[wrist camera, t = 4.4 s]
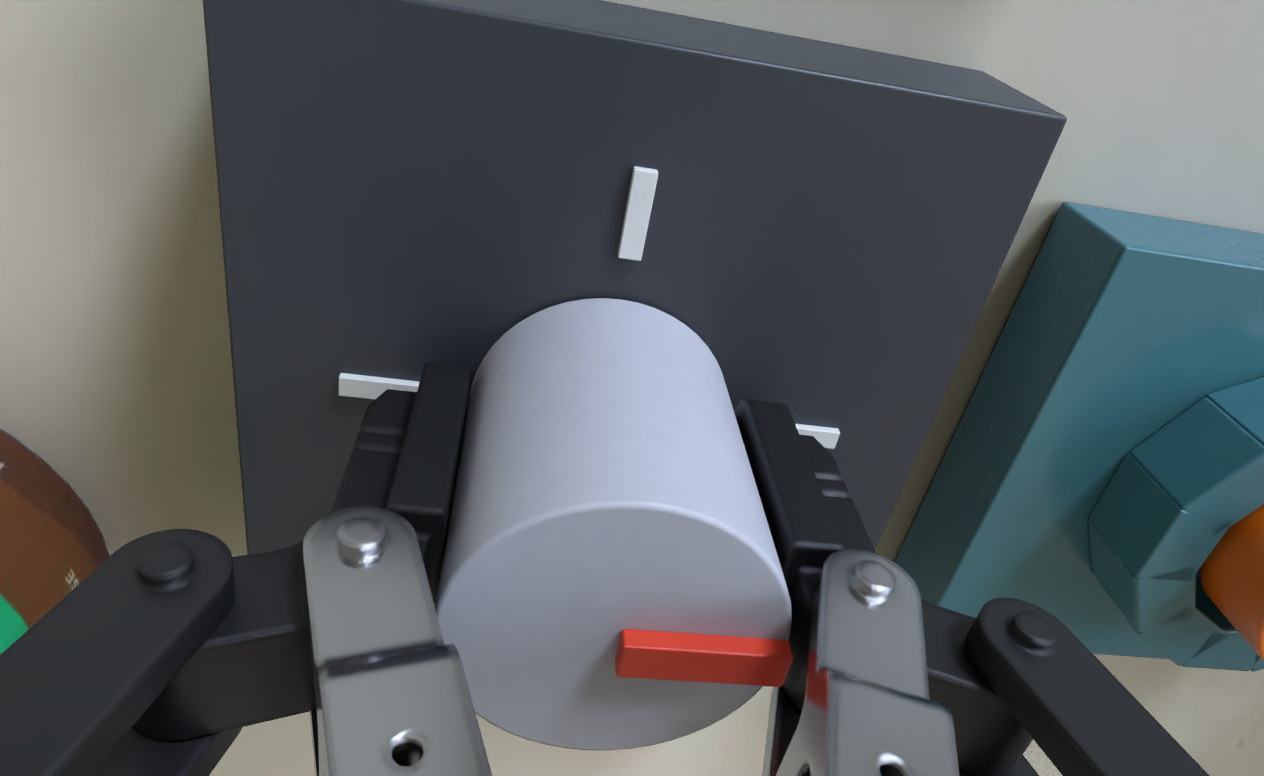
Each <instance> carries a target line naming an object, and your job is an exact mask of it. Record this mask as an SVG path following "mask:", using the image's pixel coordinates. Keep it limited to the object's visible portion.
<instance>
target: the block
mask: <svg viewBox="0 0 1264 776" xmlns="http://www.w3.org/2000/svg"><path fill="white" fill-rule="evenodd" d="M1262 505H1264V234H1260V233H1254V232H1248V231H1242V230H1236V229H1229V228H1223V227H1217V226H1211V225H1205V224H1199V223H1193V222H1186V221H1180V220H1174V219H1168V218H1162V217H1156V216H1150V215H1143V214H1137V213H1131V212H1125V211H1119V210H1113V209H1107V208H1100V207H1094V206H1088V205H1082V204H1076V203H1070V202H1064V203H1063V204H1062V205H1061V207H1060V209H1059V212H1058V214H1057V216H1056V218H1055V220H1054V222H1053V224H1052V227H1051V229H1050V231H1049V233H1048V235H1047V237H1046V239H1045V241H1044V244H1043V246H1042V248H1041V250H1040V252H1039V254H1038V256H1037V259H1036V261H1035V263H1034V265H1033V267H1032V269H1031V271H1030V274H1029V276H1028V278H1027V280H1026V282H1025V284H1024V286H1023V289H1022V291H1021V293H1020V295H1019V297H1018V299H1017V301H1016V303H1015V306H1014V308H1013V310H1012V312H1011V314H1010V316H1009V318H1008V321H1007V323H1006V325H1005V327H1004V329H1003V331H1002V333H1001V336H1000V338H999V340H998V342H997V344H996V346H995V348H994V351H993V353H992V355H991V357H990V359H989V361H988V363H987V365H986V368H985V370H984V372H983V374H982V376H981V378H980V380H979V383H978V385H977V387H976V389H975V391H974V393H973V395H972V398H971V400H970V402H969V404H968V406H967V408H966V410H965V413H964V415H963V417H962V419H961V421H960V423H959V425H958V427H957V430H956V432H955V434H954V436H953V438H952V440H951V442H950V445H949V447H948V449H947V451H946V453H945V455H944V457H943V460H942V462H941V464H940V466H939V468H938V470H937V472H936V475H935V477H934V479H933V481H932V483H931V485H930V487H929V489H928V492H927V494H926V496H925V498H924V500H923V502H922V504H921V507H920V509H919V511H918V513H917V515H916V517H915V519H914V522H913V524H912V526H911V528H910V530H909V532H908V534H907V536H906V539H905V541H904V543H903V545H902V547H901V549H900V551H899V554H898V556H897V558H896V560H895V562H894V563H896V564H897V565H899V566H900V567H901V568H902V569H903V570H905V571H906V572H907V573H908V574H909V575H910V577H911V578H912V579H913V580H914V582H915V583H916V585H917V587H918V589H919V592H920V596H921V599H922V600H924V601H926V602H929V603H931V604H934V605H937V606H940V607H943V608H946V609H949V610H952V611H955V612H958V613H961V614H964V615H967V616H970V617H974V618H976V617H977V615H978V614H979V612H980V610H981V608H982V607H983V605H984V604H985V603H986V602H988V601H990V600H992V599H996V598H1014V599H1019V600H1022V601H1026V602H1029V603H1031V604H1033V605H1036V606H1038V607H1040V608H1042V609H1044V610H1045V611H1047V612H1049V613H1050V614H1052V615H1053V616H1055V617H1056V618H1057V619H1058V620H1060V621H1061V622H1062V623H1063V624H1064V625H1065V626H1066V627H1067V628H1068V629H1069V630H1070V631H1071V632H1072V633H1073V634H1074V635H1075V636H1076V637H1077V638H1078V639H1079V640H1080V641H1081V642H1082V643H1083V644H1084V645H1085V646H1086V647H1087V649H1088V650H1089V651H1090V652H1091V653H1092V654H1106V655H1120V656H1134V657H1148V658H1162V659H1170V660H1172V661H1173V662H1174V663H1176V664H1177V665H1179V666H1180V665H1182V666H1184V667H1198V668H1212V669H1226V670H1240V671H1249V670H1251V671H1257V670H1261V669H1264V661H1263V660H1262V659H1261V658H1260V657H1259V656H1258V654H1257V653H1256V652H1255V651H1254V650H1253V649H1252V647H1251V646H1250V645H1249V644H1248V643H1247V642H1246V640H1245V639H1244V638H1243V637H1242V636H1241V635H1240V633H1239V632H1238V631H1237V630H1236V629H1235V628H1234V626H1233V625H1232V624H1231V623H1230V622H1229V621H1228V619H1227V618H1226V617H1225V616H1224V615H1223V614H1222V613H1221V611H1220V610H1219V609H1218V608H1217V607H1216V606H1215V604H1214V603H1213V602H1212V601H1211V600H1210V599H1209V597H1208V596H1207V595H1206V593H1205V591H1204V590H1203V587H1202V584H1201V578H1200V570H1201V566H1202V564H1203V563H1204V562H1205V560H1206V559H1207V557H1208V556H1209V555H1210V553H1211V552H1212V551H1213V549H1214V548H1215V547H1216V545H1217V544H1218V542H1219V541H1220V540H1221V538H1222V537H1223V536H1224V534H1225V533H1226V531H1227V530H1228V529H1229V527H1231V526H1232V525H1234V524H1235V523H1237V522H1238V521H1240V520H1241V519H1243V518H1244V517H1246V516H1247V515H1249V514H1250V513H1252V512H1253V511H1255V510H1256V509H1258V508H1259V507H1261V506H1262Z"/></svg>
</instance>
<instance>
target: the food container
mask: <svg viewBox="0 0 1264 776" xmlns="http://www.w3.org/2000/svg"><path fill="white" fill-rule="evenodd" d="M108 558H109V555H108V552H107V548H106V545H105V542H104V539H103V536H102V534H101V532H100V530H99V528H98V526H97V525H96V523H95V521H94V519H93V517H92V515H91V514H90V512H89V510H88V509H87V508H86V506H85V505H84V504H83V503H82V501H81V500H80V499H79V497H78V496H77V495H76V494H75V492H74V491H73V490H72V488H71V487H70V486H69V485H68V484H67V483H66V482H65V481H64V480H63V479H62V478H61V477H60V476H59V475H58V474H57V473H56V472H55V471H54V470H53V469H52V468H51V467H50V466H49V465H48V464H47V463H46V462H45V461H44V460H42V459H41V458H40V457H38V456H37V455H36V454H34V453H33V452H32V451H31V450H29V449H28V448H27V447H25V446H24V445H23V444H21V443H20V442H19V441H18V440H16V439H15V438H14V437H12V436H11V435H9V434H7V433H6V432H4V431H2V430H1V429H0V655H1V654H2V653H3V652H4V651H5V650H6V649H7V648H9V647H10V646H11V645H12V644H13V643H14V642H15V641H16V640H17V639H19V638H20V637H21V636H22V635H23V634H24V633H25V632H26V631H27V630H29V629H30V628H31V627H32V626H33V625H34V624H35V623H36V622H37V621H39V620H40V619H41V618H42V617H43V616H44V615H45V614H46V613H47V612H49V611H50V610H51V609H52V608H53V607H54V606H55V605H56V604H57V603H59V602H60V601H61V600H62V599H63V598H64V597H65V596H66V595H67V594H69V593H70V592H71V591H72V590H73V589H74V588H75V587H76V586H77V585H79V584H80V583H81V582H82V581H83V580H84V579H85V578H86V577H88V576H89V575H90V574H91V573H92V572H93V571H94V570H95V569H96V568H98V567H99V566H100V565H101V564H102V563H103V562H104V561H105V560H106V559H108Z"/></svg>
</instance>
